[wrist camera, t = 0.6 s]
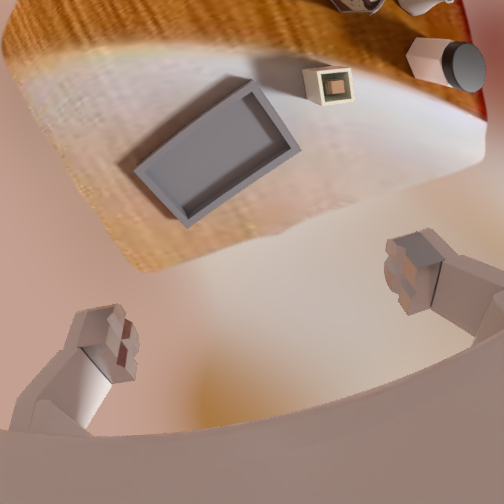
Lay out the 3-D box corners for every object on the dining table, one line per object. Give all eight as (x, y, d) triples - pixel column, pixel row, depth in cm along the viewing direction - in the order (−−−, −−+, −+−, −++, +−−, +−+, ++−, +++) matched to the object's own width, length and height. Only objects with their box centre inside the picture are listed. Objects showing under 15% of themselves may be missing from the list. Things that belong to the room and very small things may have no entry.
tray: (136, 164, 47) (133, 171, 44) (251, 79, 42) (254, 80, 40) (187, 220, 54) (187, 228, 51) (296, 145, 49) (301, 150, 46)
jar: (447, 74, 43) (492, 86, 33) (418, 89, 45) (462, 103, 35) (430, 31, 38) (476, 34, 28) (399, 44, 40) (443, 47, 30)
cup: (301, 69, 42) (317, 71, 36) (332, 65, 42) (352, 68, 36) (306, 99, 45) (323, 106, 39) (336, 95, 45) (356, 102, 39)
